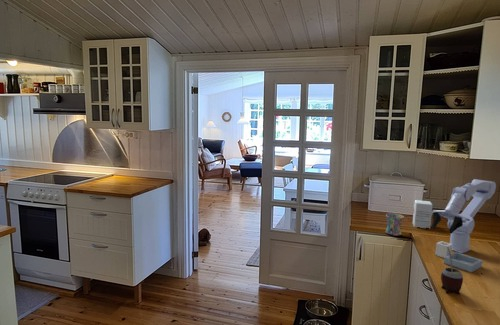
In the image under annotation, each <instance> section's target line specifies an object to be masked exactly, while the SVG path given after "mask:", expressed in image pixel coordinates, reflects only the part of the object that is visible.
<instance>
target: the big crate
mask: <svg viewBox="0 0 500 325" xmlns="http://www.w3.org/2000/svg"><path fill="white" fill-rule="evenodd" d="M451 255H452V267H453V268H454V269H457V270H461V271H465V272H466V273H470V274H472V273H474V272H476V271H477V270H479V269H481V268H483V261H484V260H483V259H479V258H476V257H473V256H470V255H467V254H464V253H460V252H457V251H455V252H453V253H451ZM443 260H444V261H443V264H444V265H447V266H450V267H451V263H450V256H449V255H448V256H446V257H445V258H443Z"/></svg>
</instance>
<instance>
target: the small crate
mask: <svg viewBox="0 0 500 325" xmlns="http://www.w3.org/2000/svg"><path fill="white" fill-rule="evenodd" d="M447 247H448V248H449V250H450V252H451V254H453V253H452V252H453V250H452V244H450V242H446V241H442V240H441V241H438V242H436V243H435V252H434V255H435V256H437V257H439V258H441V259H444V258H445V257H446V256H448V255H450V254H449V251H448V249H447Z"/></svg>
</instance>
